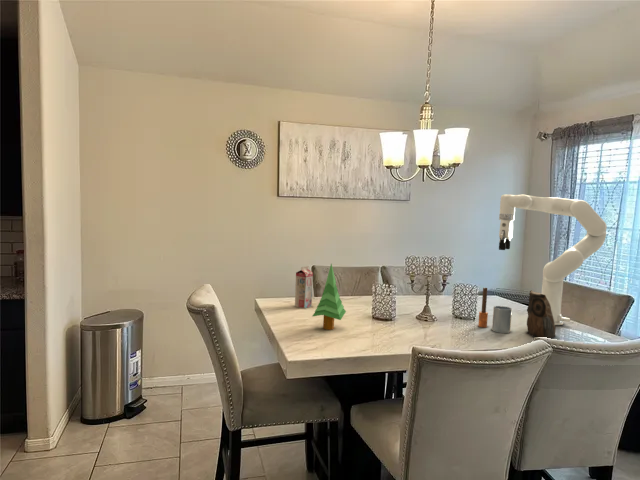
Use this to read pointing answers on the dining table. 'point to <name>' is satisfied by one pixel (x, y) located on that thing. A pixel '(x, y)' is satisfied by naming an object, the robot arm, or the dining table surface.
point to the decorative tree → (330, 303)
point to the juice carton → (303, 288)
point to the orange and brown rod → (483, 310)
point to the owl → (540, 316)
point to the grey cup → (501, 319)
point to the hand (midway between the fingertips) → (504, 249)
